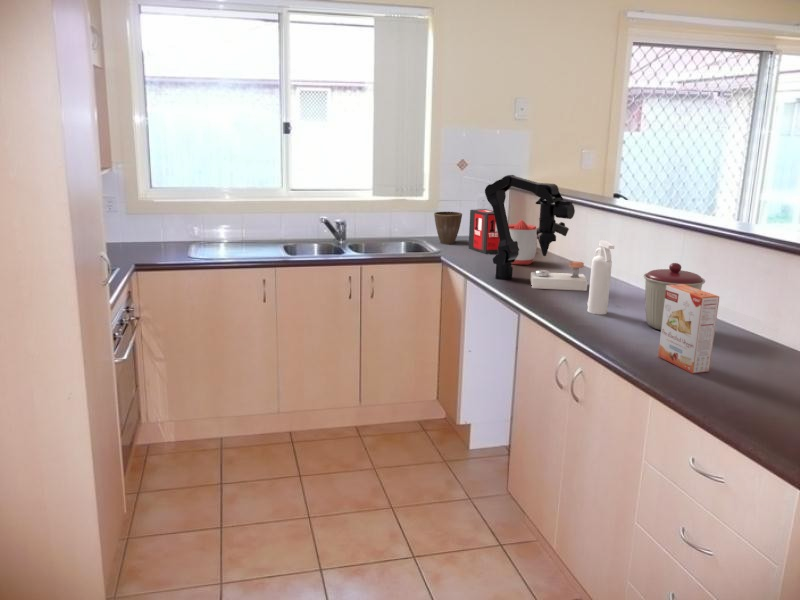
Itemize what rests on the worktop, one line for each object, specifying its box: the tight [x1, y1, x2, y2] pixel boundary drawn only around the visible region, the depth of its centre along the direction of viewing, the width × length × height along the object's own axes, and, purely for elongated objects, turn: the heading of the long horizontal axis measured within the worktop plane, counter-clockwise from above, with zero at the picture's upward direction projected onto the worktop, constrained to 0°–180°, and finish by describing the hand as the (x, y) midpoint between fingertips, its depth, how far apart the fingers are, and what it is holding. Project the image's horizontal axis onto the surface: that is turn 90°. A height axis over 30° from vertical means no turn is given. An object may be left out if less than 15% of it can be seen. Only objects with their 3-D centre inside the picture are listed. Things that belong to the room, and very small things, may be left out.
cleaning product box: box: [468, 208, 499, 255], centre depth 345 cm, size 16×9×20 cm, turn 25°
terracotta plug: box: [568, 260, 585, 276], centre depth 271 cm, size 6×6×5 cm
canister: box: [643, 262, 706, 331], centre depth 216 cm, size 18×18×21 cm
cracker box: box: [657, 284, 720, 374], centre depth 182 cm, size 14×6×21 cm, turn 17°
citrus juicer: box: [508, 219, 539, 266], centre depth 316 cm, size 16×17×20 cm
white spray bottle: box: [586, 239, 615, 315], centre depth 234 cm, size 7×12×25 cm, turn 9°
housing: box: [529, 271, 588, 292], centre depth 273 cm, size 21×12×4 cm, turn 83°
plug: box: [534, 269, 550, 277], centre depth 273 cm, size 6×6×5 cm
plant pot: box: [433, 211, 463, 245], centre depth 366 cm, size 15×15×16 cm
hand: (544, 255), depth 271 cm, fingers closed
